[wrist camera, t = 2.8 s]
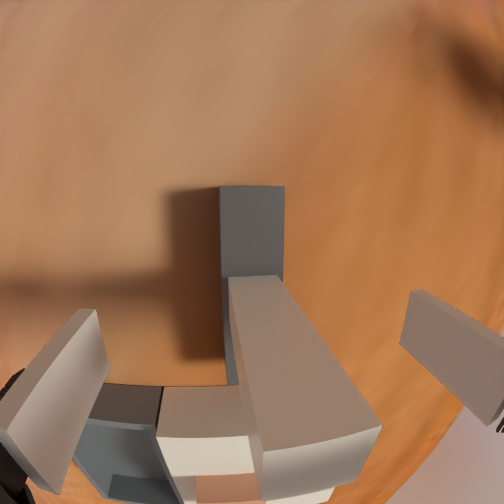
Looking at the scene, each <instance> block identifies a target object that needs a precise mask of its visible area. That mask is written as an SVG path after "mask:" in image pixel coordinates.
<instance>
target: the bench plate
mask: <svg viewBox="0 0 504 504" xmlns="http://www.w3.org/2000/svg"><path fill="white" fill-rule="evenodd" d="M156 438H157V441H158V444H159V446H160V449H161V452H162V454H163V457H164V459H165V462H166V464H167V466H168V469H169V471H170V473H171V476H172V478H173V480H174V482H175V485H176V487H177V489H178V491H179V493H180V495H181V497H182V499H183V501H184V503H185V504H196V475H231V474H245V473H255V471H254V466H253V461H252V456H251V450H250V445H249V440H248V434H247V428H246V423H245V417H244V411H243V405H242V399H241V393H240V387H239V385H229V386H206V387H164V392H163V397H162V403H161V409H160V415H159V421H158V427H157V433H156ZM334 488H335V487H334ZM334 488H330V489H326V490H322V491H318V492H314V493H309V494H305V495H300V496H295V497H289V498H283V499H277V500H270V501H266V504H318V503H322V502H326V501H328V499H329V498H330V496H331V494H332V492H333V490H334Z"/></svg>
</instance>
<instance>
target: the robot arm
mask: <svg viewBox="0 0 504 504" xmlns="http://www.w3.org/2000/svg"><path fill="white" fill-rule="evenodd" d="M399 344H400V345H401V346H402V347H403V348H404V349H405V350H407V351H408V352H409V353H410V354H411V355H412V356H413V357H414V358H415V359H416V360H417V361H419V362H420V363H421V364H422V365H423V366H424V367H425V368H426V369H427V370H428V371H429V372H430V373H432V374H433V375H434V376H435V377H436V378H437V379H438V380H439V381H440V382H441V383H442V384H443V385H444V386H445V387H446V388H448V389H449V390H450V391H451V392H452V393H453V394H454V395H455V396H456V397H457V398H458V399H459V400H460V401H461V402H462V403H463V404H464V405H465V406H466V407H467V408H468V409H469V410H470V411H471V412H473V413H474V414H475V415H476V416H477V417H478V418H479V419H480V420H481V421H482V422H483V423H484V424H485V425H486V426H488V425H490V424H491V423H492V422H494V421H495V420H496V419H497V418H498V417H499V415H500V414H501V412H502V411H503V409H504V337H502V336H501V335H499V334H498V333H496V332H494V331H493V330H491V329H490V328H488V327H486V326H485V325H483V324H481V323H480V322H478V321H476V320H475V319H473V318H471V317H470V316H468V315H466V314H465V313H463V312H461V311H460V310H458V309H456V308H455V307H453V306H451V305H449V304H448V303H446V302H444V301H442V300H441V299H439V298H437V297H435V296H434V295H432V294H430V293H428V292H426V291H425V290H423V289H420V290H413V291H410V297H409V302H408V307H407V312H406V317H405V321H404V326H403V330H402V334H401V338H400V342H399ZM109 370H110V364H109V361H108V357H107V354H106V350H105V346H104V343H103V339H102V335H101V330H100V326H99V322H98V317H97V313H96V309H82V308H79V309H78V310H77V311H76V312H75V313H74V314H73V316H72V317H71V318H70V319H69V320H68V321H67V322H66V323H65V324H64V325H63V326H62V327H61V328H60V330H59V331H58V332H57V333H56V334H55V335H54V336H53V337H52V338H51V340H50V341H49V342H48V343H47V344H46V345H45V346H44V348H43V349H42V350H41V351H40V352H39V353H38V354H37V356H36V357H35V358H34V359H33V360H32V362H31V363H30V364H29V365H28V366H27V368H26V369H24V368H23V369H22V370H20V371H19V372H17V373H16V374H14V375H13V376H12V377H11V378H10V379H9V381H8V382H7V383H6V384H5V387H3V388H2V389H1V391H0V504H36V503H35V501H34V499H33V496H32V494H31V491H30V489H29V488H28V486H27V484H26V483H25V482H26V480H27V477H29V478H30V479H31V480H32V481H33V482H34V483H35V485H36V486H37V487H39V488H41V489H44V490H46V491H49V492H52V493H54V494H57V495H59V494H60V491H61V488H62V485H63V482H64V479H65V476H66V473H67V470H68V468H69V465H70V462H71V459H72V457H73V454H74V451H75V449H76V446H77V444H78V441H79V438H80V436H81V433H82V431H83V429H84V426H85V424H86V421H87V419H88V416H89V414H90V412H91V409H92V407H93V405H94V403H95V400H96V398H97V396H98V394H99V391H100V389H101V387H102V385H103V383H104V380H105V378H106V376H107V374H108V372H109ZM503 425H504V417H503V419H502V421H501V422H500V424H499V425H498V427H497V429H496V432H499V431H500V429H501V428H502V426H503ZM502 433H504V428H503V429H502Z"/></svg>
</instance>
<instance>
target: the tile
mask: <svg viewBox="0 0 504 504" xmlns="http://www.w3.org/2000/svg"><path fill="white" fill-rule="evenodd" d="M196 504H266V501H263V502H261V501H260V496H259V491H258V487H257V482H256V477H255V473H245V474H231V475H196Z"/></svg>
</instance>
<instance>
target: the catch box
mask: <svg viewBox="0 0 504 504" xmlns="http://www.w3.org/2000/svg"><path fill="white" fill-rule="evenodd" d="M162 397H163V390H162V387H158V386H135V385H120V384H109V383H103V385H102V387H101V389H100V391H99V394H98V396H97V398H96V400H95V403H94V405H93V407H92V409H91V412H90V414H89V416H88V419H87V421H86V424H85V426H84V429H83V431H82V433H81V436H80V438H79V441H78V444H77V446H76V449H75V451H74V454H73V457H72V458H73V460H74V461H75V463H76V464H77V465H78V467H79V468H80V469H81V471H82V472H83V473H84V475H85V476H86V477H87V478H88V480H89V481H90V482H91V483H92V485H93V486H94V487H95V488H96V489H97V491H98V492H99V493H100V494H101V495H102V496H103V498H104V499H108V500H113V501H119V502H124V503H130V504H185V503H184V501H183V499H182V497H181V495H180V493H179V491H178V489H177V487H176V485H175V482H174V480H173V478H172V476H171V473H170V471H169V469H168V466H167V464H166V462H165V459H164V457H163V454H162V452H161V449H160V446H159V444H158V441H157V438H156V433H157V427H158V421H159V415H160V409H161V403H162Z"/></svg>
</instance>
